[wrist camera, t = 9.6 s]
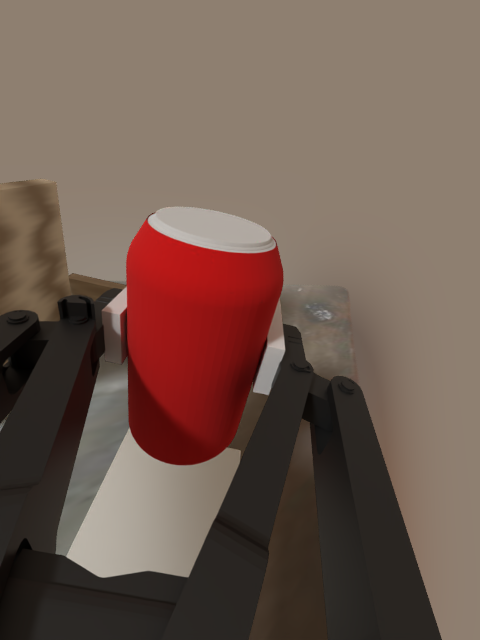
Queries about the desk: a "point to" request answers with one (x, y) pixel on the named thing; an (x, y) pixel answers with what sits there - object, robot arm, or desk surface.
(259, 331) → the beverage can
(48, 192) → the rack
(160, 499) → the felt pad
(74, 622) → the robot arm
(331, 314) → the desk surface
